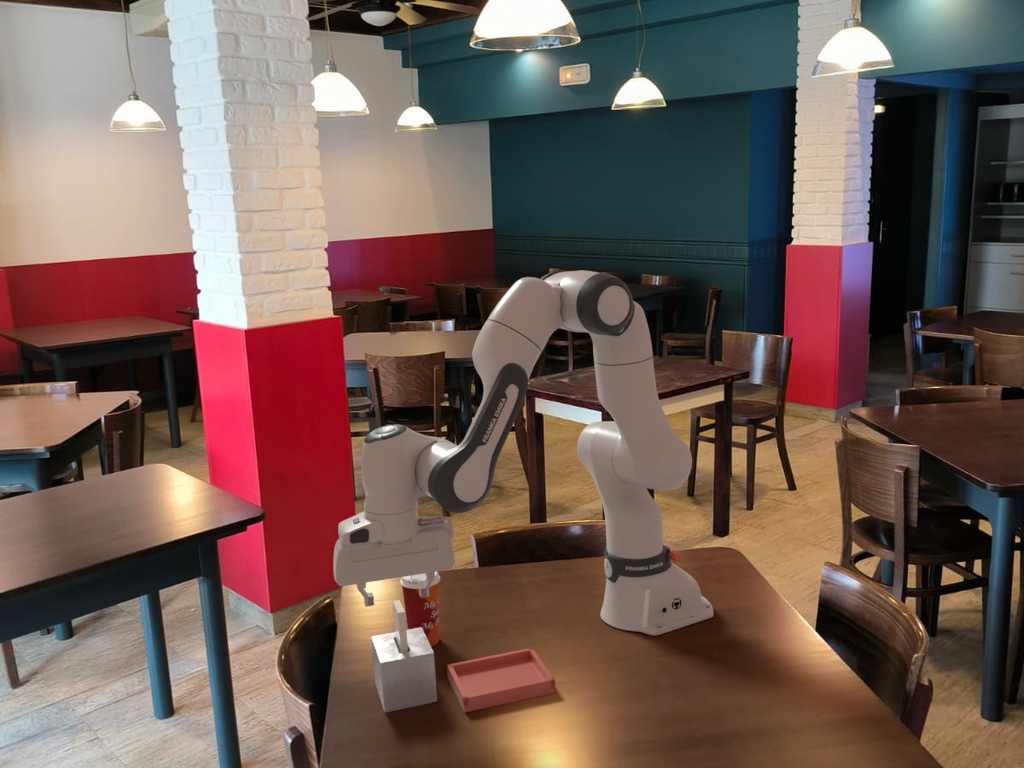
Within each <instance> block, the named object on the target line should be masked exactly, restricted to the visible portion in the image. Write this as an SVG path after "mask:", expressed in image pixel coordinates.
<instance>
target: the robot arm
mask: <svg viewBox="0 0 1024 768" xmlns="http://www.w3.org/2000/svg"><path fill="white" fill-rule="evenodd" d="M557 329H561V330H562V329H563V330H565V331H569V332H573V333H588V335H589V336H590V338H591V341H592V348H593V349H592V353H593V363H594V373H595V374H594V375H595V382H596V383H595V384H596V390H597V391H596V392H597V399H598V401H599V403H600V404H601V406H602V407H603V408H604V409H605V410H606V411H607V412H608V414H609V415H610V416H611V418H612V419H613V421H612V420H611V421H610V420H609V421H608V420H607V421H595V422H592V423H589V424H587V426H585V427H584V428H583V429H582V431H581V433H580V435H579V436H578V440H577V445H576V452H577V456H578V459H579V461H580V463H582V465H583V466H584V467H585V468H586V469H587V471H588V473H590V475H591V478H592V480H593V481H594V485H595V487H596V489H597V491H598V494H599V496H600V500H601V504H602V507H603V513H604V519H605V520H604V522H605V540H606V541H605V542H606V546H605V548H604V563H603V564H604V565H603V566H604V574H605V577H606V580H605V591H604V598H603V602H602V607H601V610H600V618H601V619H602V621H603V622H604V623H606V624H607V625H609V626H611V627H613V628H616V629H619V630H623V631H630V632H640V633H643V634H647V635H650V636H659V635H663V634H665V633H669V632H672V631H674V630H678V629H681V628H683V627H687V626H690V625H693V624H696V623H699V622H702V621H705V620H707V619H710V618H711V619H712V618H713V617H714V608H713V605H712V603H711V602H710V601H709V600H708V599H707V598H705V597H704V596H703V595H702V593H701V589H700V586H699V584H698V582H697V580H696V579H695V578H694V577H693V576H692V575H690V574H689V573H688V572H687V571H685V570H683V569H682V568H681V567H679V566H678V565H676V564H677V563H679V562H680V561H681V560H682V555H681V554H680V553H679V552H678V551H676V549H672V550H671V548H670V547H669V546H667V545H665V544H664V539H663V538H664V537H663V535H664V534H663V525H664V524H663V512H662V510H661V507H660V505H659V504H658V503H657V502H656V500H655V499H654V498H653V497H652V496H651V494H650V492H649V491H648V489H650V490H658V491H659V490H665V491H669V490H671V491H672V490H676V489H678V488H680V487H681V486H682V485H683V484H684V483H685V481H687V479H688V477H690V473H691V471H692V467H693V458H692V457H693V456H692V453H691V450H690V447H689V446H688V444H687V443H686V442H685V441H684V440H683V439H682V438H681V437H680V436H679V435H678V434H677V432H676V431H675V430H674V428H673V427H672V425H671V423H670V422H669V420H668V418H667V416H666V414H665V411H664V409H663V406H662V404H661V401H660V398H659V395H658V394H659V393H658V389H657V384H656V373H655V367H654V364H655V363H654V355H653V345H652V339H651V333H650V329H649V325H648V321H647V317H646V314H645V311H644V308H643V307H642V306H641V305H640V304H639V303H638V302H636V301H634V299H633V295H632V292H631V289H629V287H628V285H627V284H626V283H625V282H624V281H623V280H622V279H621V278H619V277H617V276H615V275H613V274H610V273H605V272H602V273H601V272H597V271H591V270H582V269H580V270H579V269H578V270H569V271H566V270H557V271H552V272H549V273H547V274H545V275H543V276H542V277H540V278H539V277H534V276H533V277H532V276H526V277H521V278H519V279H518V280H516V281H515V282H514V283H513V284H512V285H511V286H510V288H509V289H507V291H506V292H505V294H503V296H502V297H501V298H500V300H499V301H498V302H497V304H496V305H495V307H494V308H493V309H492V311H491V312H490V315H489V316H488V318H487V320H485V323H484V325H483V326H482V328H481V329H480V331H479V333H478V335H477V337H476V339H475V342H474V346H473V348H472V352H471V356H472V357H471V358H472V362H473V365H474V369H475V370H476V372H477V374H478V375H479V378H480V379H481V382H482V385H483V394H482V395H483V396H482V400H481V402H480V405H479V407H478V409H477V411H476V413H475V415H474V417H473V420H472V421H471V422H470V423H471V424H470V426H469V427H468V430H467V432H466V434H465V436H464V438H463V440H462V441H461V442H460V443H459V444H458V445H457V444H456V443H453V442H452V441H450V440H447V439H445V438H442V437H437V436H431V435H426V434H422V433H419V432H417V431H415V430H413V429H411V428H409V427H408V426H406V425H405V424H404V425H403V424H398V423H397V424H396V423H395V424H387V425H383V426H380V427H378V428H375V429H373V430H372V431H371V432H369V433H368V434H366V436H365V437H364V440H363V441H362V446H361V447H362V448H361V463H360V464H361V468H360V469H361V483H362V487H363V489H364V493H365V499H364V503H363V511H362V512H360V513H358V514H355V515H353V516H351V517H348V518H347V519H344V520H342V521H340V522H339V523H338V526H337V527H338V528H337V530H338V531H337V532H338V537H339V538H338V539H337V540H336V542H335V545H334V550H333V567H332V568H333V570H332V571H333V577H334V581H335V582H336V584H337V585H338V586H340V587H347V586H352V585H355V586H356V588H357V590H358V592H359V593H360V594H361V595H362V597H363V602H364V603H363V604H364V606H365V608H368V607H373V606H375V598H374V597H375V596H374V593H373V592H367V590H366V588H367V583H371V582H372V583H373V582H379V581H384V580H385V581H386V580H391V579H397V578H398V579H399V578H402V577H405V576H411V575H418V574H424V573H425V575H426V579H425V581H424V583H423V584H421V585H419V595H420V596H421V598H423V597H429V587H430V586H431V584H432V582H433V580H434V578H435V572H441V571H442V572H443V571H450V570H452V568H453V567H454V565H455V564H456V560H455V559H456V557H455V551H454V547H453V541H452V539H453V537H454V533H455V532H454V531H455V530H454V523H453V521H452V520H451V519H450V518H448V517H445V516H444V515H438V516H434V517H423V518H421V517H420V518H419V509H418V499H419V498H420V497H423V496H428V497H430V498H431V499H432V500H434V501H435V503H437V504H438V505H439V506H440V507H441V508H442V509H444V510H445V511H447V512H450V513H452V514H453V513H454V514H463V513H464V514H465V513H468V512H471V511H473V510H474V509H476V508H477V507H479V506H480V505H481V504H482V503H483V502H484V501H485V500H486V499H487V497H488V495H489V493H490V491H491V489H492V485H493V482H494V474H495V470H496V469H495V468H496V465H497V462H498V460H499V459H498V458H499V457H500V454H501V452H502V449H503V448H504V445H505V443H506V442H507V439H508V436H509V434H510V432H511V430H512V427H513V426H514V423H515V421H516V419H517V416H518V415H519V412H520V411H521V408H522V406H523V403H524V400H525V399H526V395H527V392H528V386H529V380H530V377H531V374H532V372H533V369H534V367H535V365H536V363H537V361H538V360H539V358H540V356H541V354H542V352H543V351H544V349H545V347H546V345H547V343H548V341H549V339H550V337H551V336H552V334H553V333H554V332H556V331H557ZM674 563H675V564H674Z"/></svg>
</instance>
